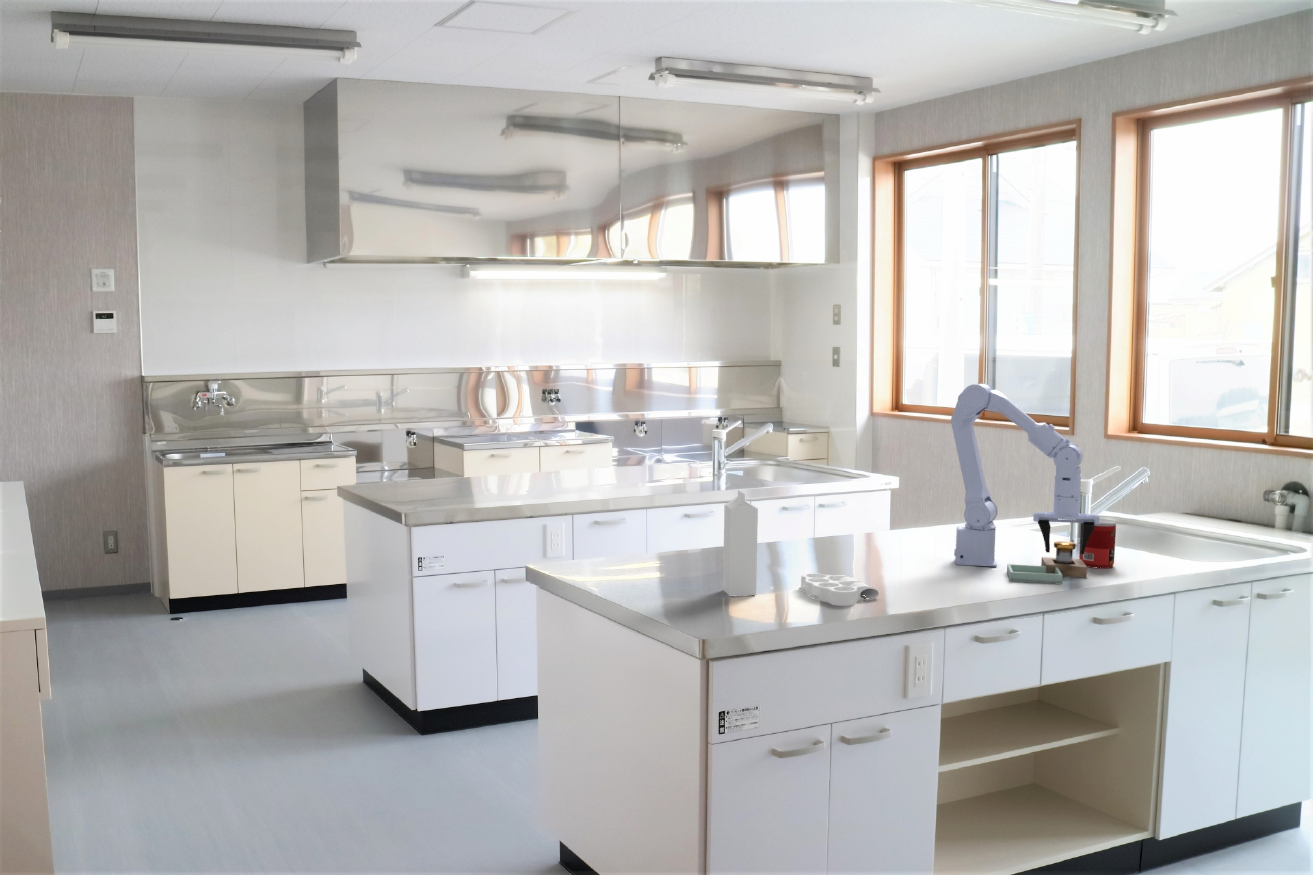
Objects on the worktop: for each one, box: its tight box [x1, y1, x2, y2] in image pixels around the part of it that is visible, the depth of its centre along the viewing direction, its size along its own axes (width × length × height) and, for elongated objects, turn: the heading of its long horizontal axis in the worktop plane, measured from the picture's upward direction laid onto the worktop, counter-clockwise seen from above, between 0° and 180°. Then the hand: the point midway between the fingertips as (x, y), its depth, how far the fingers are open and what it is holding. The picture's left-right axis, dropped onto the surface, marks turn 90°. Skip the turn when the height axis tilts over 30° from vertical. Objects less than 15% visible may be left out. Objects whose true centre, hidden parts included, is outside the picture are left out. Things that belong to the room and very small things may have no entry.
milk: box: [722, 489, 759, 596], centre depth 231 cm, size 6×6×22 cm
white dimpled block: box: [797, 572, 880, 607], centre depth 232 cm, size 3×18×15 cm
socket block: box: [1040, 556, 1088, 579], centre depth 257 cm, size 9×9×2 cm
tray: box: [1006, 563, 1064, 585], centre depth 250 cm, size 11×9×2 cm
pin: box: [1053, 540, 1077, 564], centre depth 257 cm, size 5×5×7 cm
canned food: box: [1078, 518, 1117, 569], centre depth 265 cm, size 8×8×11 cm
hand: (1064, 552), depth 256 cm, fingers open, 7 cm apart
